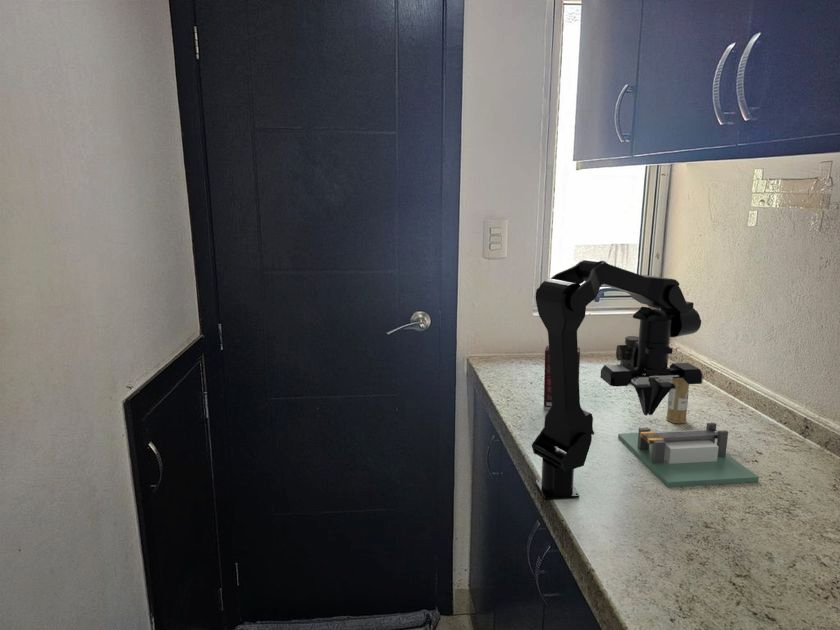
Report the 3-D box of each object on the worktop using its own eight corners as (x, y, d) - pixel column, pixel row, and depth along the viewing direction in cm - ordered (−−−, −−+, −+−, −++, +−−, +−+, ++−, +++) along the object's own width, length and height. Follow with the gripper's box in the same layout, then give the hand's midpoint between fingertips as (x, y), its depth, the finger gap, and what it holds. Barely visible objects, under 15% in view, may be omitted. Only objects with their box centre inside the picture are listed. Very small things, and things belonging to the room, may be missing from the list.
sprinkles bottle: (686, 425, 135) (691, 371, 133) (665, 422, 137) (670, 368, 134) (686, 418, 140) (691, 365, 137) (665, 415, 141) (670, 363, 138)
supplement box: (577, 406, 148) (580, 347, 145) (577, 413, 144) (580, 352, 140) (543, 403, 150) (545, 345, 147) (542, 410, 146) (544, 349, 142)
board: (758, 481, 109) (762, 450, 108) (667, 487, 108) (670, 455, 106) (694, 434, 131) (697, 407, 129) (618, 437, 129) (619, 410, 128)
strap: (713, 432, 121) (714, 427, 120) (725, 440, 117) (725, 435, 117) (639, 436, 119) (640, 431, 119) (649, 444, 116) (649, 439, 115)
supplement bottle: (614, 375, 172) (616, 336, 170) (631, 371, 175) (633, 333, 173) (631, 381, 166) (633, 341, 164) (648, 378, 169) (651, 339, 167)
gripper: (678, 329, 121) (671, 399, 125) (592, 331, 120) (588, 401, 123) (708, 343, 111) (700, 418, 114) (614, 345, 109) (609, 422, 112)
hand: (647, 414), depth 116 cm, fingers closed
